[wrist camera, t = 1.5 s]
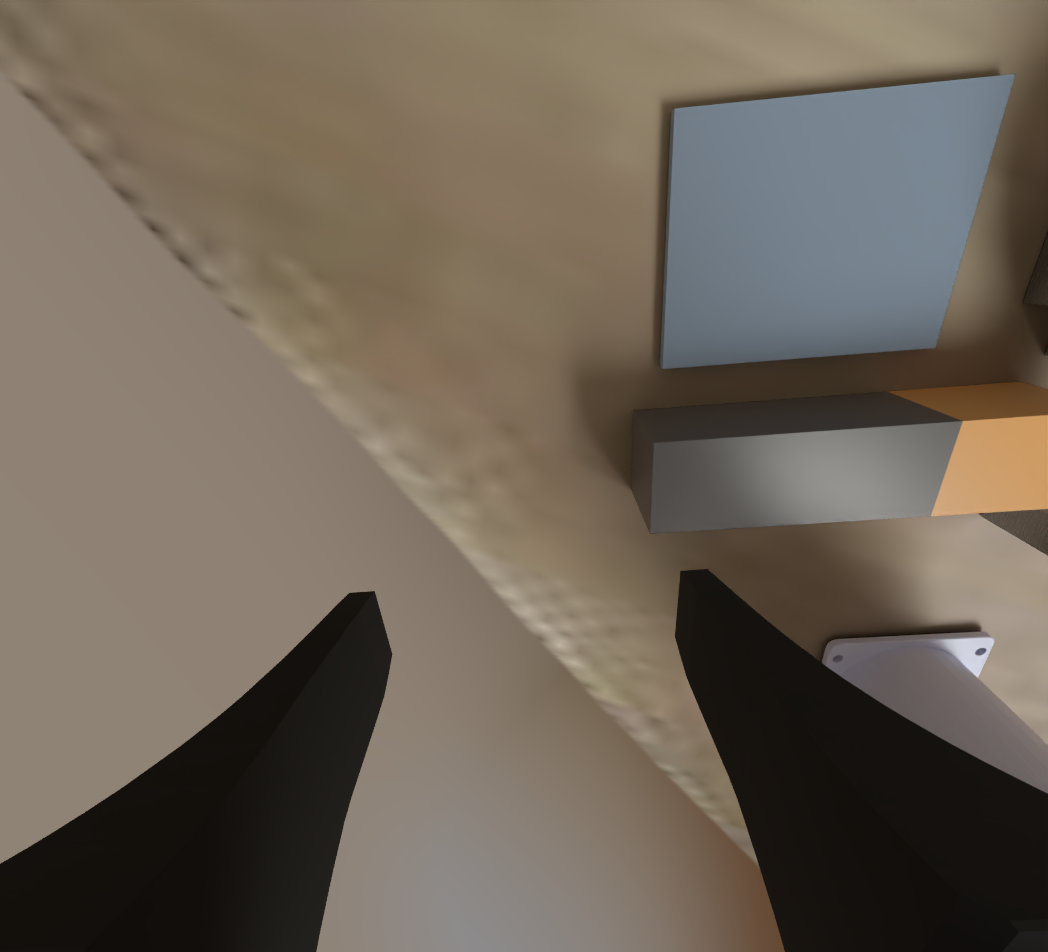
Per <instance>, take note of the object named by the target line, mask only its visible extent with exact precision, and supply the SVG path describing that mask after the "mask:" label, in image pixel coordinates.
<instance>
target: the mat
mask: <svg viewBox="0 0 1048 952" xmlns="http://www.w3.org/2000/svg"><path fill="white" fill-rule="evenodd" d="M1014 77H1015V74H1009V75H999V76H990V77H980V78H970V79H960V80H950V81H940V82H931V83H921V84H911V85H901V86H891V87H881V88H871V89H862V90H852V91H842V92H832V93H822V94H812V95H803V96H793V97H783V98H773V99H763V100H753V101H744V102H734V103H724V104H714V105H704V106H694V107H684V108H675V109H674V110H673V111H672V112H671V126H670V149H669V172H668V194H667V217H666V240H665V263H664V285H663V308H662V331H661V353H660V367H661V368H662V369H671V368H684V367H697V366H710V365H723V364H735V363H748V362H761V361H774V360H787V359H800V358H813V357H825V356H838V355H851V354H864V353H877V352H890V351H902V350H915V349H928V348H936V344H937V341H938V337H939V334H940V331H941V327H942V324H943V320H944V317H945V313H946V310H947V307H948V303H949V300H950V296H951V293H952V289H953V286H954V283H955V279H956V276H957V272H958V269H959V265H960V262H961V259H962V255H963V252H964V248H965V245H966V242H967V238H968V235H969V231H970V228H971V224H972V221H973V218H974V214H975V211H976V207H977V204H978V200H979V197H980V194H981V190H982V187H983V183H984V180H985V176H986V173H987V170H988V166H989V163H990V159H991V156H992V153H993V149H994V146H995V142H996V139H997V135H998V132H999V129H1000V125H1001V122H1002V118H1003V115H1004V111H1005V108H1006V105H1007V101H1008V98H1009V94H1010V91H1011V87H1012V84H1013V81H1014Z"/></svg>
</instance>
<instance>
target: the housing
mask: <svg viewBox="0 0 1048 952" xmlns="http://www.w3.org/2000/svg"><path fill="white" fill-rule="evenodd" d="M1023 303H1029V304H1039V305H1048V234H1047V237H1046V240H1045V243H1044V245H1043V248H1042V251H1041V254H1040V257H1039V259H1038V262H1037V265H1036V268H1035V271H1034V273H1033V276H1032V279H1031V282H1030V285H1029V287H1028V290H1027V293H1026V296H1025V299H1024V301H1023ZM1045 355H1046V356H1048V347H1047V350H1046V352H1045ZM981 516H982V517H983V518H985V519H987V520H988V521H990V522H992V523H994V524H995V525H997V526H999V527H1000V528H1002V529H1004V530H1005V531H1007V532H1009V533H1010V534H1012V535H1014V536H1016V537H1017V538H1019V539H1021V540H1022V541H1024V542H1026V543H1027V544H1029V545H1031V546H1033V547H1034V548H1036V549H1038V550H1039V551H1041V552H1043V553H1044V554H1046V555H1048V509H1038V510H1022V511H1006V512H990V513H982V515H981Z"/></svg>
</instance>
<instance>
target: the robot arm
mask: <svg viewBox="0 0 1048 952" xmlns="http://www.w3.org/2000/svg"><path fill="white" fill-rule="evenodd" d="M675 638H676V642H677V645H678V649H679V653H680V656H681V660H682V663H683V666H684V670H685V673H686V676H687V679H688V682H689V684H690V686H691V689H692V691H693V694H694V696H695V698H696V701H697V703H698V706H699V708H700V710H701V713H702V715H703V717H704V720H705V722H706V724H707V727H708V729H709V731H710V734H711V736H712V738H713V741H714V743H715V745H716V748H717V750H718V752H719V755H720V757H721V759H722V762H723V764H724V766H725V769H726V771H727V773H728V776H729V778H730V781H731V783H732V786H733V789H734V791H735V794H736V796H737V799H738V802H739V805H740V808H741V811H742V814H743V817H744V820H745V823H746V826H747V829H748V832H749V835H750V839H751V842H752V845H753V848H754V851H755V854H756V857H757V860H758V864H759V867H760V870H761V873H762V876H763V880H764V883H765V886H766V889H767V892H768V896H769V899H770V902H771V905H772V909H773V912H774V915H775V919H776V922H777V925H778V929H779V932H780V936H781V939H782V943H783V946H784V950H785V952H1048V744H1046V743H1045V742H1044V741H1043V740H1042V739H1041V738H1040V737H1039V736H1038V735H1037V734H1036V733H1035V732H1034V731H1033V730H1032V729H1031V728H1030V727H1029V726H1028V725H1027V724H1026V723H1024V722H1023V721H1022V720H1021V719H1020V718H1019V717H1018V716H1017V715H1016V714H1015V713H1014V712H1013V711H1012V710H1011V709H1010V708H1009V707H1008V706H1007V705H1006V704H1005V703H1004V702H1002V701H1001V700H1000V699H999V698H998V697H997V696H996V695H995V694H994V693H993V692H992V691H991V690H990V689H989V688H988V687H987V686H986V685H985V684H984V683H983V682H982V681H980V680H979V679H978V676H979V674H980V672H981V670H982V667H983V665H984V663H985V661H986V659H987V657H988V655H989V653H990V650H991V648H992V646H993V644H994V638H993V637H992V636H990V635H989V634H988V633H986V632H963V633H944V634H924V635H905V636H886V637H867V638H848V639H835V640H832V641H830V642H829V643H828V644H827V646H826V648H825V652H824V656H823V660H822V663H821V662H820V661H818V660H817V659H816V658H814V657H813V656H812V655H810V654H809V653H808V652H806V651H805V650H804V649H802V648H801V647H800V646H798V645H797V644H796V643H794V642H793V641H792V640H791V639H789V638H788V637H787V636H785V635H784V634H783V633H782V632H780V631H779V630H778V629H777V628H775V627H774V626H773V625H772V624H771V623H769V622H768V621H767V620H766V619H764V618H763V617H762V616H761V615H760V614H758V613H757V612H756V611H755V610H754V609H753V608H751V607H750V606H749V605H748V604H747V603H746V602H744V601H743V600H742V599H741V598H740V597H739V596H737V595H736V594H735V593H734V592H733V591H732V590H731V589H729V588H728V587H727V586H726V585H725V584H724V583H723V582H722V581H720V580H719V579H718V578H717V577H716V576H715V575H714V574H712V573H711V572H710V571H709V570H708V569H702V570H687V571H681V573H680V585H679V596H678V608H677V619H676V631H675ZM391 658H392V652H391V648H390V645H389V641H388V638H387V634H386V630H385V627H384V624H383V620H382V616H381V612H380V609H379V605H378V602H377V598H376V595H375V591H371V592H357V593H349V594H348V595H347V596H346V597H345V598H344V599H343V600H342V601H341V602H340V603H338V604H337V605H336V606H335V608H333V609H332V611H331V612H330V613H329V614H328V615H327V616H326V617H325V618H324V619H323V620H322V621H321V622H320V623H319V624H318V625H317V626H316V627H315V628H314V629H313V630H312V631H311V632H310V633H309V634H308V635H307V636H306V637H305V638H304V639H303V640H302V641H301V642H300V643H299V644H298V645H297V646H296V647H295V648H294V649H293V650H292V651H291V652H290V653H289V654H288V655H287V656H285V658H284V659H282V660H281V661H280V662H279V663H278V664H277V665H276V666H275V667H274V668H273V669H272V670H270V671H269V673H267V674H266V675H265V676H264V677H263V678H262V679H261V680H259V681H258V682H257V683H256V684H255V685H254V686H253V687H252V688H251V689H250V690H249V691H247V692H246V693H245V694H244V695H243V696H242V697H241V698H240V699H239V700H237V701H236V702H235V703H234V704H233V705H232V706H230V707H229V708H228V709H227V710H226V711H224V712H223V713H222V714H221V715H220V716H218V717H217V718H216V719H215V720H213V721H212V722H211V723H209V724H208V725H207V726H206V727H204V728H203V729H202V730H201V731H199V732H198V733H197V734H196V735H194V736H193V737H192V738H191V739H189V740H188V741H187V742H185V743H184V744H183V745H181V746H180V747H179V748H177V749H176V750H174V751H173V752H172V753H170V754H169V755H167V756H166V757H165V758H164V759H162V760H160V761H159V762H158V763H157V764H155V765H154V766H152V767H151V768H149V769H148V770H147V771H145V772H144V773H142V774H141V775H140V776H138V777H137V778H135V779H134V780H133V781H131V782H130V783H128V784H127V785H126V786H124V787H123V788H121V789H120V790H118V791H117V792H115V793H114V794H112V795H111V796H109V797H108V798H106V799H105V800H103V801H102V802H100V803H98V804H97V805H95V806H94V807H92V808H91V809H89V810H88V811H86V812H85V813H84V814H82V815H80V816H78V817H77V818H75V819H74V820H72V821H70V822H69V823H67V824H66V825H64V826H63V827H61V828H59V829H58V830H56V831H55V832H53V833H51V834H50V835H48V836H47V837H45V838H43V839H42V840H40V841H38V842H37V843H35V844H33V845H32V846H30V847H28V848H27V849H25V850H23V851H22V852H20V853H18V854H17V855H15V856H13V857H11V858H9V859H8V860H6V861H4V862H3V863H1V864H0V952H316V950H317V945H318V940H319V934H320V930H321V925H322V920H323V915H324V910H325V906H326V901H327V896H328V892H329V886H330V882H331V877H332V873H333V868H334V864H335V860H336V856H337V851H338V847H339V843H340V838H341V834H342V830H343V825H344V821H345V817H346V814H347V811H348V807H349V803H350V800H351V797H352V794H353V791H354V788H355V785H356V782H357V779H358V775H359V772H360V769H361V766H362V763H363V760H364V757H365V754H366V751H367V748H368V745H369V742H370V739H371V736H372V733H373V730H374V726H375V723H376V720H377V717H378V714H379V711H380V708H381V704H382V701H383V698H384V694H385V689H386V685H387V679H388V675H389V669H390V663H391Z"/></svg>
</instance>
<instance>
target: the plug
mask: <svg viewBox="0 0 1048 952" xmlns="http://www.w3.org/2000/svg"><path fill="white" fill-rule="evenodd" d="M631 490H632V492H633V495H634V497H635V499H636V502H637V504H638V506H639V509H640V511H641V513H642V516H643V518H644V520H645V523H646V525H647V527H648V530H649V532H650V534H655V533H671V532H687V531H703V530H719V529H735V528H751V527H767V526H783V525H798V524H814V523H830V522H846V521H862V520H878V519H894V518H910V517H926V516H942V515H958V514H974V513H990V512H1006V511H1022V510H1038V509H1048V389H1045V388H1041V387H1037V386H1034V385H1030V384H1026V383H1022V382H1009V383H996V384H982V385H969V386H955V387H942V388H928V389H915V390H901V391H888V392H875V393H861V394H848V395H834V396H821V397H807V398H794V399H780V400H767V401H753V402H740V403H727V404H713V405H700V406H686V407H673V408H659V409H646V410H633V426H632V476H631Z"/></svg>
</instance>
